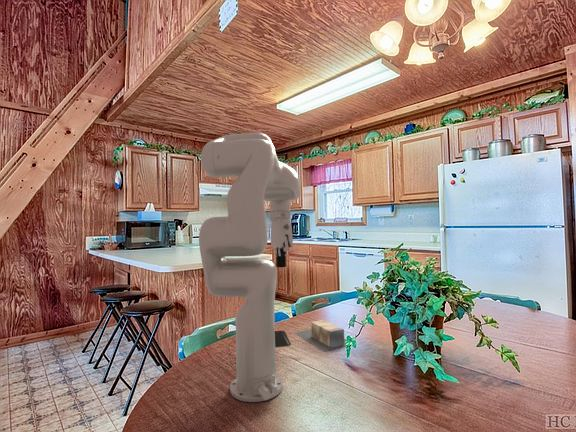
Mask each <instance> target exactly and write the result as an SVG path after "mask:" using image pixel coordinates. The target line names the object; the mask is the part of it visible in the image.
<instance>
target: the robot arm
mask: <svg viewBox="0 0 576 432" xmlns="http://www.w3.org/2000/svg"><path fill="white" fill-rule="evenodd" d="M272 142H273V141H272V139H271V138H270V137H269V136H268V135H267V134H265V133H262V132H246V133H244V132H243V133H231V134H226V135H223V136H220V137H217V138H216V139H212V140H210V141H208V142H207V143H206V144H204V146H203V148H202V151H201V155H200V163H201V167H202V169H203V171H204V172H205V174H206V175H208V176H209V177H212V178H233V177H235V178H236V179H235V180H234V182H233V183H232V185H231V186H230V188H229V190H228V191H227V195H226V198H225V199H226V200H225V201H226V207H227V216H213V217H209V218H207V219H205V220H204V221H203V222H202V224H201V226H200V229H199V233H198V244H199V246H198V247H199V251H200V253H199V254H200V259H201V264H202V270H203V275H204V276H203V277H204V281H205V285H206V289H207V292H209V294H211V295H212V296H214V297H218V298H219V297H220V298H243V299H244V300H245V301H244V303H243V304H242V305H241V306H240V307H239V309H238V310H237V312H236V315H235V320H234V321H235V324H234V325H235V362H236V363H235V371H236V376H235V379H233V380H232V382H231V383H230V385H229V389H230V390H229V392H230V394H231V396H232V397H233V398H235V399H236V400H237V401H241V402H245V403H247V402H248V403H259V402H260V403H261V402H264V401H268V400H271V399H273V398H275V397H277V395H279V394H280V393H281V391H282V390H283V381H282V379H281V377H279V376H278V375H277V373H276V370H277V368H276V364H277V363H276V347H275V331H276V328H275V326H276V324H275V322H276V321H275V304H276V303H275V302H276V301H275V300H276V292H277V291H276V290H277V283H278V268H279V269H280V268H286V267H287V252H289V250H290V249H289V248H292V247H293V246H294V245H293V244H294V241H293V228H292V222H291V220H292V219H291V217H292V216H291V201H295V200H298V199H299V198H300V195H301V193H302V188H301V187H302V186H301V183H300V179H299V174H298V173H297V171H296V170H295V169H294V168H293V167H291V166H290V165H287V164H286V163H284V162H281V161H279V158H278V156H277V153H276V148H275V146H274V144H273V143H272ZM265 202H269V221H270V223H271V224H270V225H271V226H270V246H271V247H272V248H273V251H275V260H276V261H275V263H274V262H273V261H272V260H270V259H267V258H265V257H255V256H258V255H261V254H263V253H264V252H265V251H266V250H267V247H268V229H267V228H268V227H267V217H266V216H267V215H266V209H265V208H266V207H265V206H266V205H265ZM230 257H231V258H230Z"/></svg>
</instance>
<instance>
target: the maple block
mask: <svg viewBox="0 0 576 432" xmlns="http://www.w3.org/2000/svg"><path fill="white" fill-rule="evenodd" d="M310 323H311V325H310V326H311V328H310V330H311V331H312V337H313V338H315V339H317V340H319V341H320V342H322V343H324V344H326V345H327V346H329V347H331V348H334V347H338V346H342V345H344V339H345V329H344V328H342V327H340V326H338V325H336V324H333V323H332V322H328V321H327V320H324V319H320V320H315V321H311V322H310Z"/></svg>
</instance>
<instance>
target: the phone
mask: <svg viewBox="0 0 576 432" xmlns="http://www.w3.org/2000/svg"><path fill="white" fill-rule="evenodd" d="M291 345H292V344H291V341H290V339H289V337H288V336H287V333H286V331H285V330H275V348H282V347H283V348H284V347H290V346H291Z"/></svg>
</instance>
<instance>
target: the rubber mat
mask: <svg viewBox="0 0 576 432" xmlns="http://www.w3.org/2000/svg"><path fill="white" fill-rule="evenodd" d="M294 334H295V335H296V336H298V337H300V338H301V339H302V340H304V341H306V342H307V343H310V345H311V344H312V345H313V346H314V347H316V348H318V349H320V350H321V351H322V352H325V353H326V352H331V351H335V350H339V349H342V348H346V347H345V341H346V340H347V339H346V338H344V345H342V346H338V347H334V348H331V347H329V346H327V345H326V344H324V343H322V342H320V341H319V340H317V339H315V338H313V337H312V331H311V329H306V330H302V331H297V332H294Z"/></svg>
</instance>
